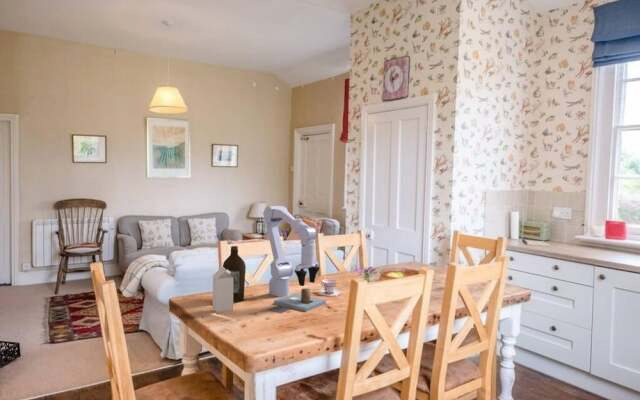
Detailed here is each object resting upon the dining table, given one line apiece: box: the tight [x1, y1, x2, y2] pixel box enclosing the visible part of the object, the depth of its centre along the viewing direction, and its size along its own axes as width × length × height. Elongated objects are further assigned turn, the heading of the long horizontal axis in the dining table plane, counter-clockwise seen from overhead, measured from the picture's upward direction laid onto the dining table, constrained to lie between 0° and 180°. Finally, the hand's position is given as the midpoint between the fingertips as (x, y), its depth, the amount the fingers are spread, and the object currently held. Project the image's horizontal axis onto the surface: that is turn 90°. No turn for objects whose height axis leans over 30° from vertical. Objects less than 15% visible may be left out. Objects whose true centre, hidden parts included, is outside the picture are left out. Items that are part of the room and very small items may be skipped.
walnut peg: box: [300, 287, 311, 304], centre depth 196 cm, size 4×4×8 cm
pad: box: [266, 305, 292, 314], centre depth 189 cm, size 8×8×1 cm
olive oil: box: [222, 245, 247, 303], centre depth 205 cm, size 11×11×25 cm
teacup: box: [316, 278, 342, 297], centre depth 220 cm, size 12×12×6 cm
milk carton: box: [212, 265, 234, 315], centre depth 187 cm, size 7×7×19 cm
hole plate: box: [273, 293, 327, 313], centre depth 198 cm, size 18×15×3 cm
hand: (306, 283), depth 199 cm, fingers open, 7 cm apart
